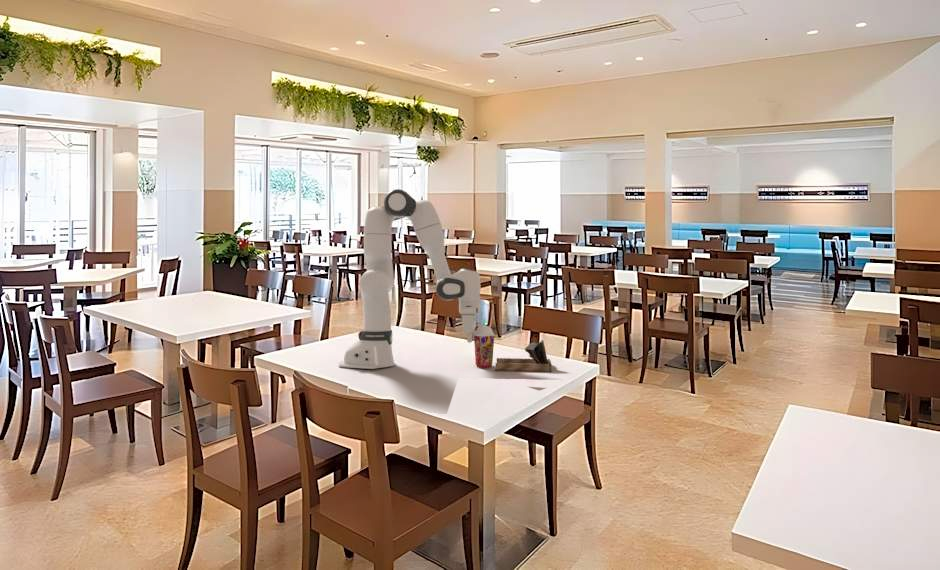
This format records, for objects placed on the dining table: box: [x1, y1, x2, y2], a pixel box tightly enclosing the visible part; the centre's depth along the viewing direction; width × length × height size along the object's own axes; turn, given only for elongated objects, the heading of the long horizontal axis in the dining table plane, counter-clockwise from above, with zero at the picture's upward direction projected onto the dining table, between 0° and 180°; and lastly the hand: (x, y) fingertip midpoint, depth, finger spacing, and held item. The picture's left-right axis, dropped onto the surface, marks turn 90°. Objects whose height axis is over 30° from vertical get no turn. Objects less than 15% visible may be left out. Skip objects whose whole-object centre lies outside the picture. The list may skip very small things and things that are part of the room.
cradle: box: [495, 357, 553, 373], centre depth 251 cm, size 22×14×3 cm, turn 86°
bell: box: [524, 339, 548, 364], centre depth 251 cm, size 10×7×12 cm
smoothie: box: [473, 318, 495, 369], centre depth 252 cm, size 8×8×20 cm
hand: (469, 342), depth 252 cm, fingers closed
